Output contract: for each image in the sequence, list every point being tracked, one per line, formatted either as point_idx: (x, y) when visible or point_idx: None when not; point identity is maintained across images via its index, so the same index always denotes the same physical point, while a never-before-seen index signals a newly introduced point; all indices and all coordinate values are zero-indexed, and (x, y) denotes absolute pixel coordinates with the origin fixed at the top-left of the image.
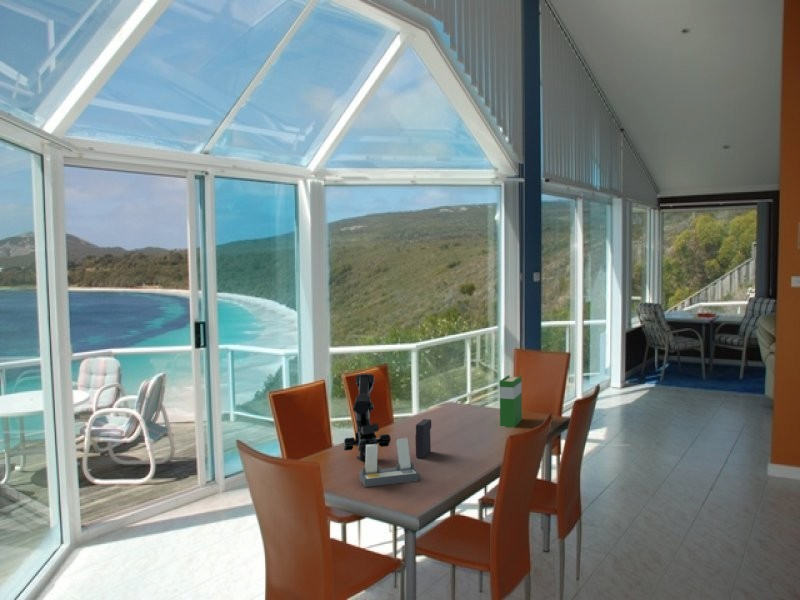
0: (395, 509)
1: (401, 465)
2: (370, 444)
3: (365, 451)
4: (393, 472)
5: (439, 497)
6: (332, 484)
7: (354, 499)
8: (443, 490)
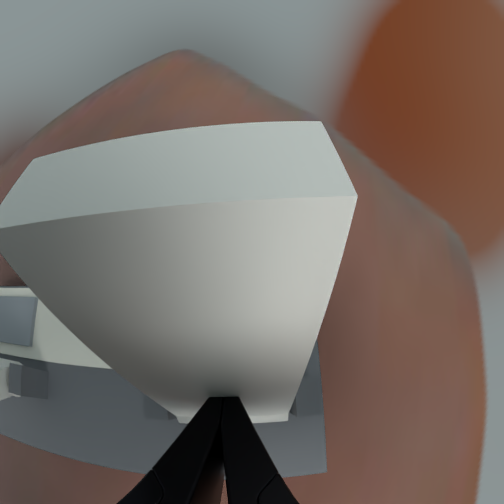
0: (218, 71)
1: (3, 363)
2: (160, 208)
3: (291, 493)
4: (74, 346)
5: (57, 128)
6: (474, 376)
7: (359, 154)
8: (13, 177)
